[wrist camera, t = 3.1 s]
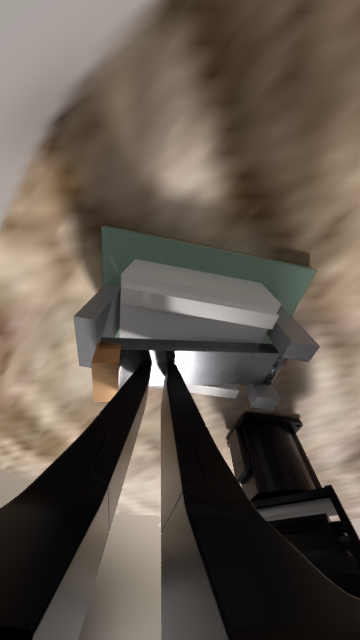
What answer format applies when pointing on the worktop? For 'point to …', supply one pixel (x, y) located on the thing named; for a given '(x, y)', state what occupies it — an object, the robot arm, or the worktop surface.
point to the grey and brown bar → (182, 362)
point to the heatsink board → (195, 301)
